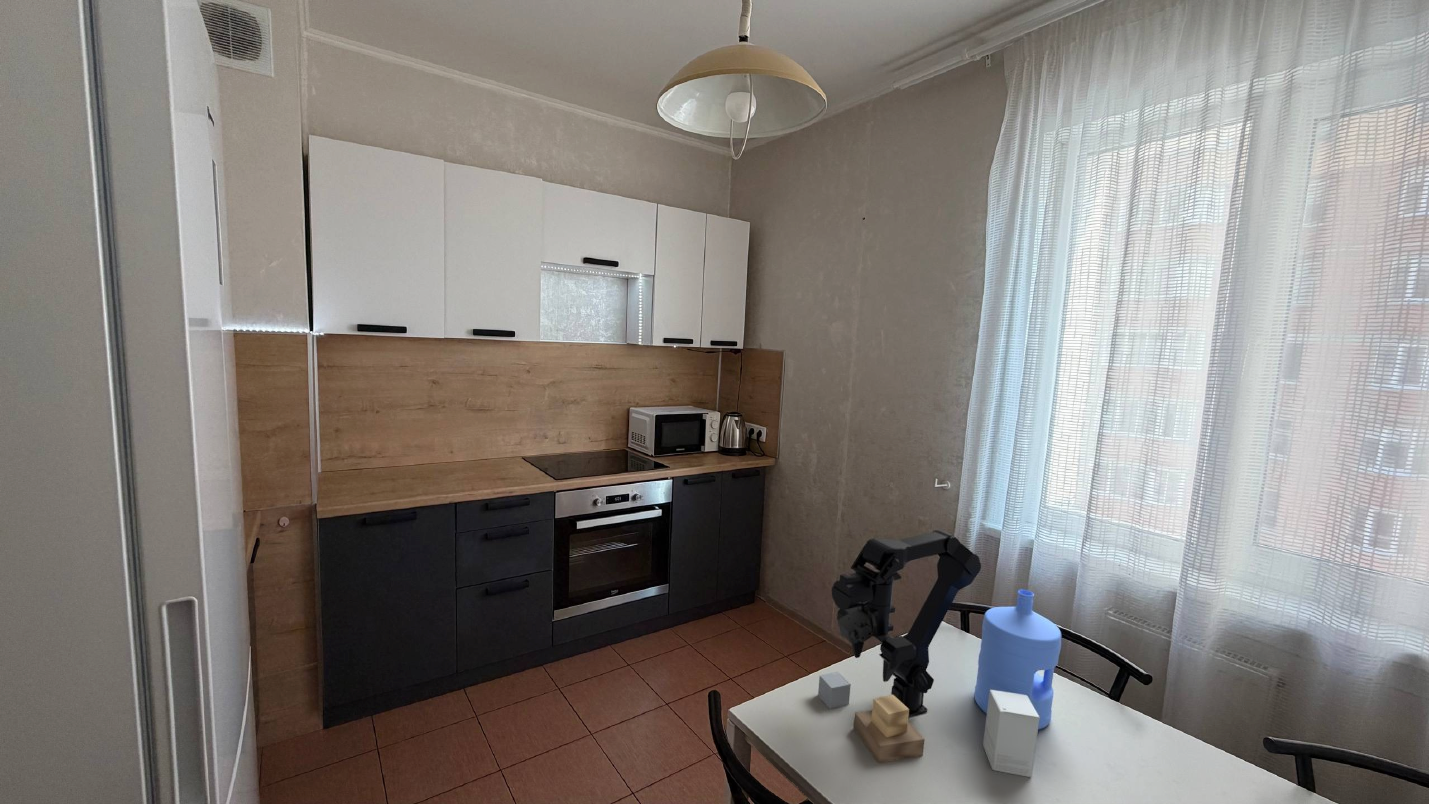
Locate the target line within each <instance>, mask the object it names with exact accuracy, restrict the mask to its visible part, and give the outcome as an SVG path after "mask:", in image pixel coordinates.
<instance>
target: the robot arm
mask: <svg viewBox="0 0 1429 804" xmlns="http://www.w3.org/2000/svg"><path fill="white" fill-rule="evenodd" d="M933 556H937V557H938V560H937V563H936V572H937V573H936V574H937V578H936V580H935V582H934V584H933V586H932V588H931V590H930V591H929V594H928V595H927V597H926V599H925V601H924V603H923V605H922V606H921V608H920V610H919V611H918V614H917V616H916V618H915V619H914V621H913V623H912V625H911V627H910V628H909V631H908V632H907V633H906V634H905V635H899V636H898V635H896V636H891V635H890V634H889V632H893V631H894V625H893V624H891V622H890V619H891V614H892V613H895V612H896V607H895V606H893V605H892V600H893V589H894V581H898V580H899V581H900V580H901V579H902V575H900V574H899V572H900V571H901V570H903V569H904V568H905V567H906V565H907V564H908V563H909V562H913V561H917V560H920V559H924V558H928V557H933ZM866 565H868V566H869V567H867V566H866ZM870 567H871V568H873V569H875V570H873V569H871V568H870ZM850 570H851V571H853V572H852V573H844V574H843V573H842V574H840V575H839V580H836V581H835V582H834V583H833V585H832V586H831V597H832V599H833V602H834V604H835V605H836V607H837V608H838V609H839V610H837V615H836V616H837V617H836V620H837V624H838V629H839V632H840V635H841V636H842V637H843V638H845V639H846V641H848V642H849V643H850V644H851V647H852V651H853V655H854V658H855V659H858V658H861V655H862V651H863V649H864V645H865V642H866V641H868V640H869V639H870V638H873V637H874V638H876V640H878V641H879V642H881V644H880V649H879V650H880V652H881V653H879V657H880V658H881V659H882V660H883V661H882V681H883V682H884V683H887V682H889V681H890V679H891V678H892V677H894V678H893V685H892V686H891V692H890V693H891V694H890V695H894V696H895V697H896V698H897V699H898V700H900V701H901V702H902V703H903V704H904V705H905V706H906V707H907V708H908V709H909V716H908V717H911V716H912V717H913V716H916V715H920V714H924V713H927V712H928V708H927V707H926V706H925V705H924V697H925V695H924V694H927V693H928V690H931V689H932V687H933V684H934V681H935V679H934V678H933V677H932V676H931V674H930V673H929V672H928V671H927V668H928V666H929V664H930V654H929V652H930V651H929V648H930V645H931V643H932V642H933V639H934V638H935V635H936V634H937V632H938V631H939V628H940V626H941V624H942V622H943V620H944V618H945V617H946V615H947V613H948V611H949V609H950V607H951V605H952V604H953V602H954V600H955V598H956V596H957V594H958V593H959V591H960V590H962V589H964V588H966V587H967V586H969V585H971V584H972V583H973V582H974V580H975V579H976V577H977V575H978V574H979V573H980V572H981V570H982V563H981V560H980V557H979V556H978V554H976V553H974V552H972V551H971V550H970V549H969V548H968V547H966V546H965V545H964V544H963V543H961V542H960V540H959V539H958V538H957V537H956V536H955V535H953V534H951V533H949V532H946V531H944V530H942V529H935V530H933V531H932V532H927V533H922V534H919V535H915V536H911V537H906V538H902V539H889V538H884V537H883V538H878V537H873V538H870V539H868V540H867V541H866V543H865V544H864V546H863V547H862V549H861V550H860V552H859V553H858V555H857V557H856V558H855V560H854V562H853V563H852V565H851V566H850Z"/></svg>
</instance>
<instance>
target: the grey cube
mask: <svg viewBox="0 0 1429 804" xmlns="http://www.w3.org/2000/svg"><path fill="white" fill-rule="evenodd" d="M818 678H819V680H818V691H817V696H818V697H819V698H820V699H821V700H822V701H823V703H824V704H825V705H826V706H827V708H829V709H830V710H831V709H835V708H838V707H839V708H840V707H843V706H844V707H845V706H848V705H847V704H850V695H851V683H850V682H849V680H848V679H846V678H845V677H844V676H843V675H842V674H841V673H840V672H839V671H834V672H829V673H824V674H820V675H819V677H818Z"/></svg>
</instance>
